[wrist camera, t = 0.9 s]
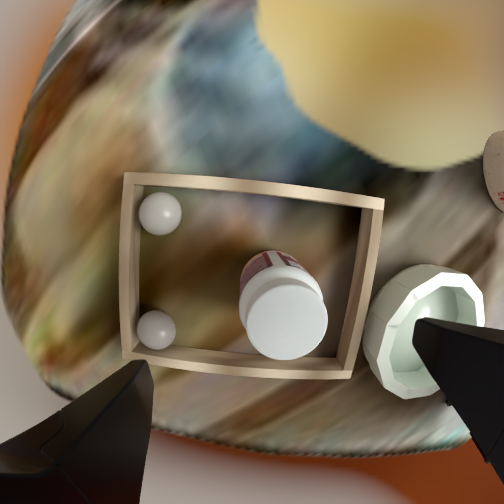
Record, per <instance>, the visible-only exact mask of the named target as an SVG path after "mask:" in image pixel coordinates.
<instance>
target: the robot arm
mask: <svg viewBox="0 0 504 504" xmlns="http://www.w3.org/2000/svg"><path fill="white" fill-rule="evenodd" d="M412 345H413V347H414V349H415V350H416V352H417V354H418V355H419V357H420V358H421V360H422V362H423V363H424V365H425V367H426V369H427V370H428V372H429V373H430V375H431V377H432V378H433V379H434V381H435V382H436V383H437V385H438V386H439V388H440V389H441V390H442V392H443V393H444V394H445V396H446V397H447V400H446V405H447V406H451V405H452V406H453V407H454V408H455V410H456V411H457V413H458V414H459V416H460V417H461V419H462V420H463V421H464V423H465V424H466V426H467V427H468V429H469V430H470V435H471V436H472V440H473V441H474V443H475V445H476V446H477V448H478V449H479V451H480V453H481V454H482V456H483V459H484V461H485V463H487V464H488V463H491V465H492V466H493V468H494V470H495V471H496V473H497V475H498V476H499V478H500V480H501V481H502V483H503V485H504V330H499V329H493V328H487V327H481V326H475V325H469V324H463V323H457V322H451V321H446V320H440V319H435V318H429V317H423V318H420V319H417V320H416V322H415V325H414V331H413V337H412ZM153 391H154V384H153V379H152V376H151V372H150V369H149V365H148V362H147V361H146V360H145V359H135V360H132V361H131V362H129V363H128V364H126V365H125V366H124V367H122V368H121V369H119V370H118V371H116V372H115V373H113V374H112V375H111V376H109V377H108V378H106V379H105V380H103V381H102V382H100V383H99V384H97V385H96V386H95V387H93V388H92V389H90V390H89V391H87V392H86V393H84V394H83V395H81V396H80V397H78V398H77V399H75V400H74V401H72V402H71V403H70V404H68V405H67V406H65V407H64V408H62V409H61V411H60V410H59V411H57V412H56V413H55V414H53V415H52V416H50V417H48V418H47V419H45V420H44V421H42V422H40V423H39V424H37V425H35V426H33V427H32V428H30V429H28V430H26V431H25V432H22V433H21V434H19V435H17V436H15V437H13V438H11V439H9V440H7V441H5V442H3V443H1V444H0V504H139V502H140V494H141V487H142V480H143V474H144V467H145V461H146V454H147V449H148V443H149V438H150V432H151V423H152V406H153Z"/></svg>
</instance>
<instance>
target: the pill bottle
mask: <svg viewBox="0 0 504 504" xmlns="http://www.w3.org/2000/svg"><path fill="white" fill-rule="evenodd" d="M239 314H240V319H241V321H242V324H243V326H244V327H245V329H246V332H247V336H248V338H249V340H250V342H251V344H252V345H253V346H254V347H255V349H256V350H257V351H259V352H260V353H261V354H263V355H265V356H267V357H269V358H272V359H276V360H292V359H296V358H299V357H302V356H304V355H306V354H308V353H309V352H311V351H312V350H313V349H314V348H315V347H316V346H317V345H318V344H319V343H320V342H321V340H322V338H323V337H324V335H325V332H326V329H327V323H328V315H327V310H326V307H325V305H324V303H323V296H322V292H321V290H320V287H319V285H318V284H317V282H316V280H315V279H314V278H313V277H312V276H311V275H310V274H309V273H308V272H307V271H306V270H305V269H304V268H303V267H302V266H301V265H300V264H299V263H298V262H297V261H296V260H295V259H294V258H293V257H292V256H290V255H289V254H287V253H284V252H281V251H274V250H273V251H265V252H262V253H259V254H257V255H256V256H254V257H253V258H252V259H250V260H249V261H248V263H247V264H246V265H245V267H244V269H243V271H242V274H241V279H240V297H239Z"/></svg>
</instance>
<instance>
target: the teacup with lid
mask: <svg viewBox="0 0 504 504" xmlns="http://www.w3.org/2000/svg"><path fill="white" fill-rule="evenodd" d="M483 171H484V178H485V182H486V186H487V189H488V192H489V194H490V196H491V198H492V200H493V202H494V203H495V205H496V206H497V207H498V208H499V209H500V210H501V211H503V212H504V131H499V132H496V133H494V134H492V135H491V136H490V137H489V139H488V140H487V142H486V145H485V148H484V153H483Z"/></svg>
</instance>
